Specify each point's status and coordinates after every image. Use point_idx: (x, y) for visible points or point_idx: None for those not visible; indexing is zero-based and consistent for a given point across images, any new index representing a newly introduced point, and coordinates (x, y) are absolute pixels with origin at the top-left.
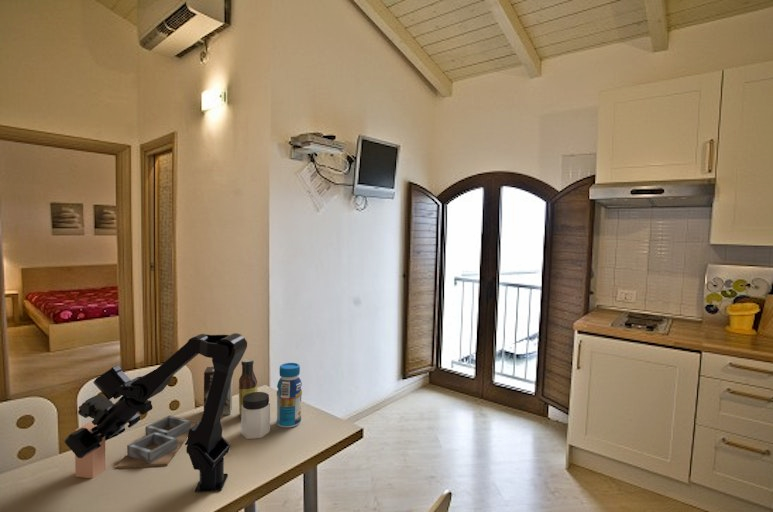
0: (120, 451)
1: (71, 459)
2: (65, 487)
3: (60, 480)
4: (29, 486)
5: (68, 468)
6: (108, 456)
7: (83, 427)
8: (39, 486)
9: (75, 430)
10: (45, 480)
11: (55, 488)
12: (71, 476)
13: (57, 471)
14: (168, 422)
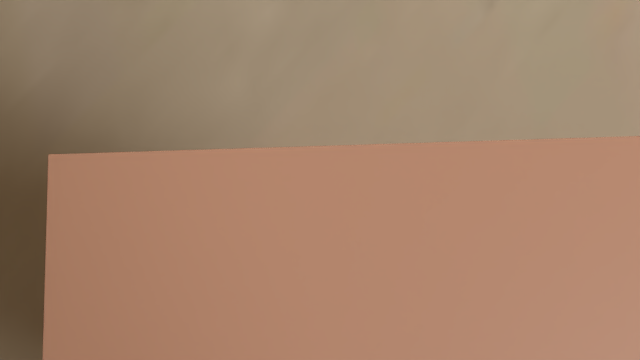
0: None
1: (411, 5)
2: (30, 341)
3: None
4: (6, 13)
5: (296, 96)
6: None
7: (360, 319)
8: (16, 93)
9: (47, 195)
10: (104, 64)
11: (4, 261)
12: None
13: (239, 45)
14: None
